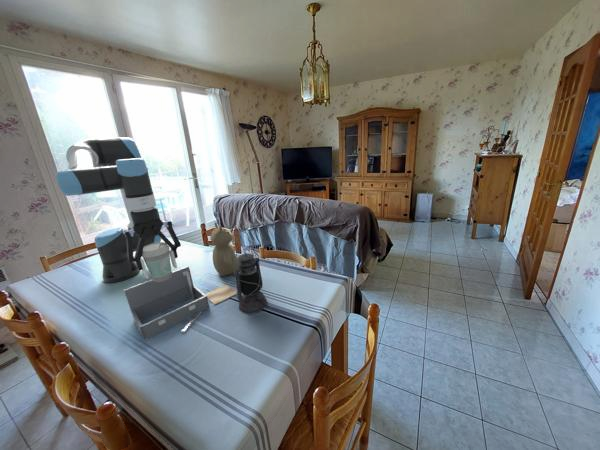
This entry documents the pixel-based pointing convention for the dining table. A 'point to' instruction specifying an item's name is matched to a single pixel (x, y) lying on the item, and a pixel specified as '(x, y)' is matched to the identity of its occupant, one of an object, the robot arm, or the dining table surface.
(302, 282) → the dining table surface
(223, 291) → the cork pad
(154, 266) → the coffee cup
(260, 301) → the lantern
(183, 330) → the bar
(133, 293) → the case
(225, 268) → the bear
